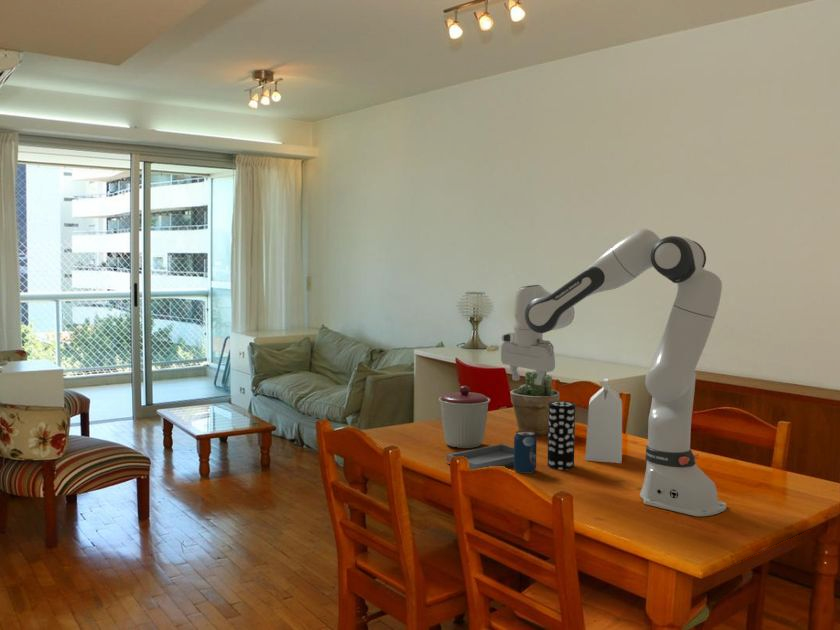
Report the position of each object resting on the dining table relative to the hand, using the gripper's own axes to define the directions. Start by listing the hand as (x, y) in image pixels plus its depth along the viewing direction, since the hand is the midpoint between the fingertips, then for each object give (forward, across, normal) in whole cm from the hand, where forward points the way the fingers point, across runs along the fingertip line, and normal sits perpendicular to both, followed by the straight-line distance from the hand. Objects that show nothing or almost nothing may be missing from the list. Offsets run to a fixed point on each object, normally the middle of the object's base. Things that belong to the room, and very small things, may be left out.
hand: (526, 382), depth 228 cm
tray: (+28, +13, +3) cm, 31 cm away
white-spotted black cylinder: (+28, -3, -13) cm, 31 cm away
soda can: (+28, 0, 0) cm, 28 cm away
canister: (+28, +35, -5) cm, 45 cm away
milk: (+28, -4, -33) cm, 43 cm away
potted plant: (+28, +34, -39) cm, 59 cm away
